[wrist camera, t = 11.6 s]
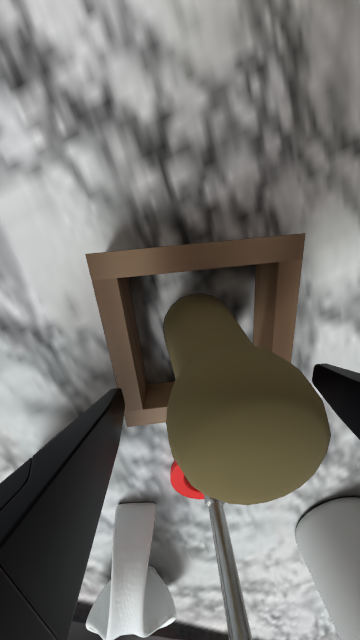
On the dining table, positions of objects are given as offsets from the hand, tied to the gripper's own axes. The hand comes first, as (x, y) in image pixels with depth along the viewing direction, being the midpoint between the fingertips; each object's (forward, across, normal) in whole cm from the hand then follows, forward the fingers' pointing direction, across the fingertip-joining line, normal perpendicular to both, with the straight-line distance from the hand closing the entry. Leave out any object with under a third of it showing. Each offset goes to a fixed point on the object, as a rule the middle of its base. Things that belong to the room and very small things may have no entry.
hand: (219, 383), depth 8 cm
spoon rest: (+8, +11, +33) cm, 36 cm away
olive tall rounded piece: (+8, 0, 0) cm, 8 cm away
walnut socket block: (+7, 0, 0) cm, 7 cm away
